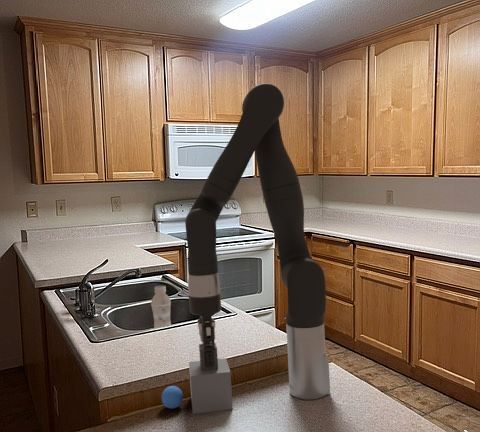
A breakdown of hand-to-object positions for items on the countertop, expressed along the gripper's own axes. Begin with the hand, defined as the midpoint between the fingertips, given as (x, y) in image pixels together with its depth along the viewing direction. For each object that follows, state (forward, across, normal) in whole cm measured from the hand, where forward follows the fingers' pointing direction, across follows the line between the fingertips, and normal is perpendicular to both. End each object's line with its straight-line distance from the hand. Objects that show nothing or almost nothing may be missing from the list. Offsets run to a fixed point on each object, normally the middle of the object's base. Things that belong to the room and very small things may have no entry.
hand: (208, 361), depth 110 cm
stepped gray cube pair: (+10, 0, 0) cm, 10 cm away
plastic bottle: (+10, +48, +12) cm, 50 cm away
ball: (+7, 0, +9) cm, 12 cm away
